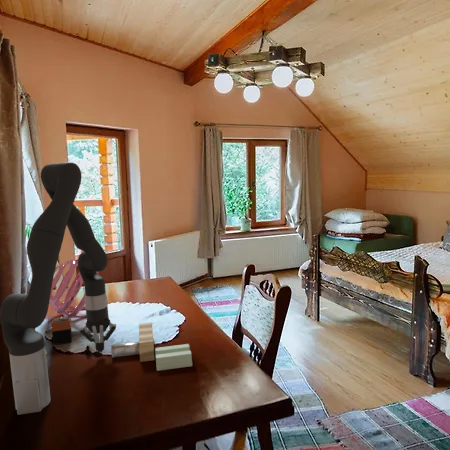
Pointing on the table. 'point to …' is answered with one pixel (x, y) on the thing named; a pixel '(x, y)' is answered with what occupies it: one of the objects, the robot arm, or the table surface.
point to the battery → (61, 330)
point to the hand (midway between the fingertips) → (100, 351)
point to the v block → (173, 357)
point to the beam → (146, 342)
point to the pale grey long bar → (125, 349)
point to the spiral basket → (72, 292)
